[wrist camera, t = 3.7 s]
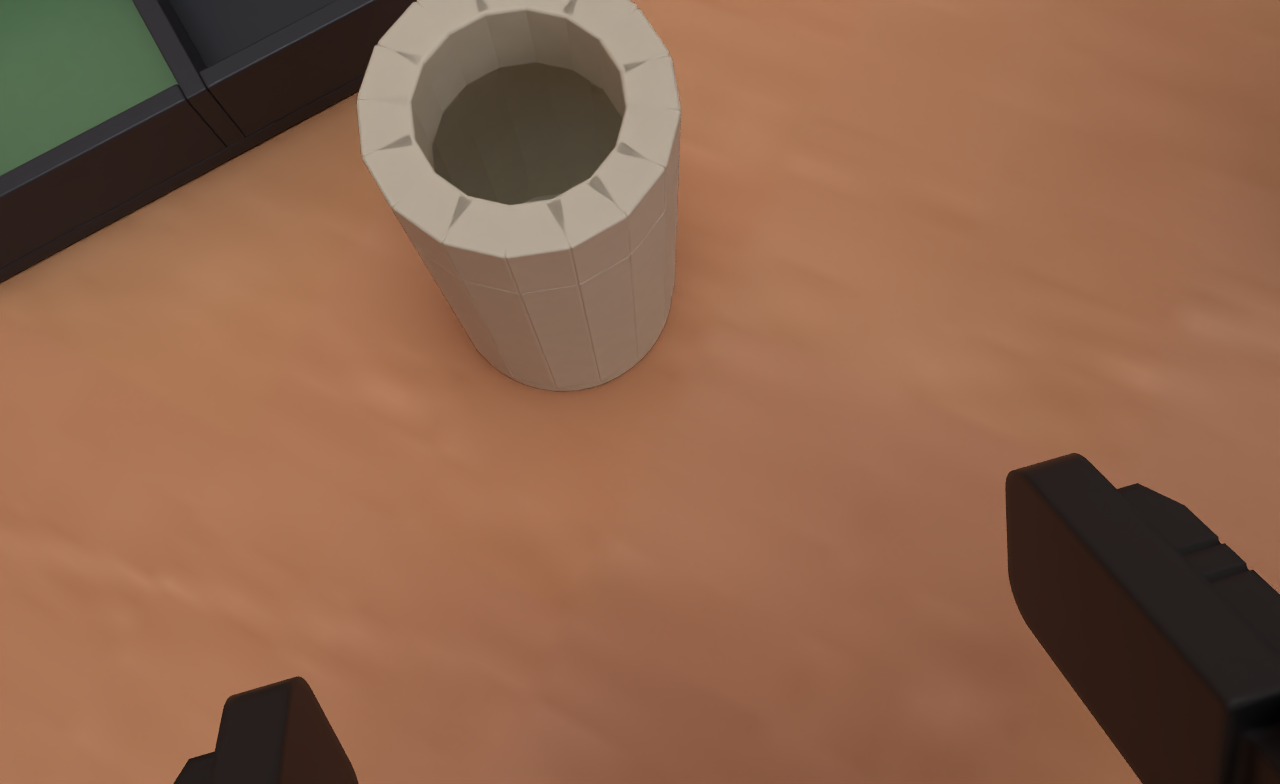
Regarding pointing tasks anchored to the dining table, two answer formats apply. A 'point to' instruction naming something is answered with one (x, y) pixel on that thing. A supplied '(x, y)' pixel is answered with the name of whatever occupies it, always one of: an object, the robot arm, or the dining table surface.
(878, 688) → the dining table surface
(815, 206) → the dining table surface
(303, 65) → the tray
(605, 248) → the jar
